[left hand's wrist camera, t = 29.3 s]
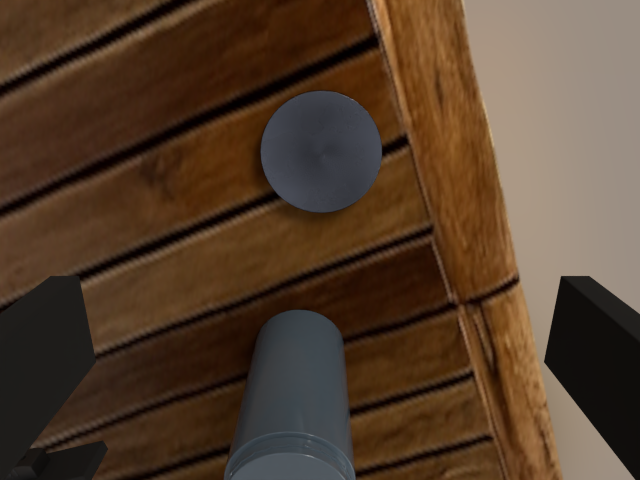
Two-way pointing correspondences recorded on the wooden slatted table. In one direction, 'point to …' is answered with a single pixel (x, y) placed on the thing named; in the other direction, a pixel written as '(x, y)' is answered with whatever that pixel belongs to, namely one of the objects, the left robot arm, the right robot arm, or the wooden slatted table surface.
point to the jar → (294, 404)
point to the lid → (321, 151)
